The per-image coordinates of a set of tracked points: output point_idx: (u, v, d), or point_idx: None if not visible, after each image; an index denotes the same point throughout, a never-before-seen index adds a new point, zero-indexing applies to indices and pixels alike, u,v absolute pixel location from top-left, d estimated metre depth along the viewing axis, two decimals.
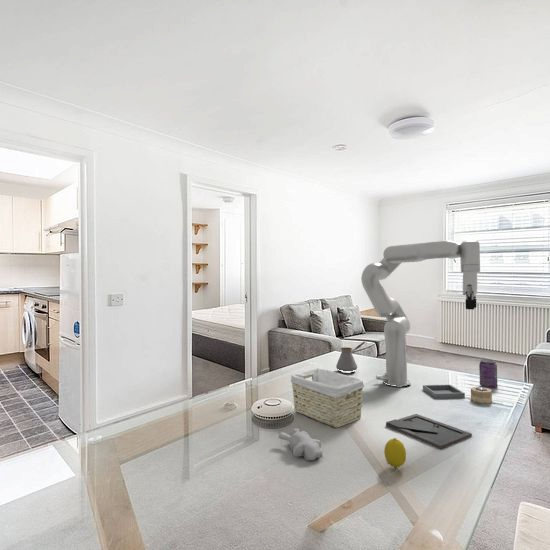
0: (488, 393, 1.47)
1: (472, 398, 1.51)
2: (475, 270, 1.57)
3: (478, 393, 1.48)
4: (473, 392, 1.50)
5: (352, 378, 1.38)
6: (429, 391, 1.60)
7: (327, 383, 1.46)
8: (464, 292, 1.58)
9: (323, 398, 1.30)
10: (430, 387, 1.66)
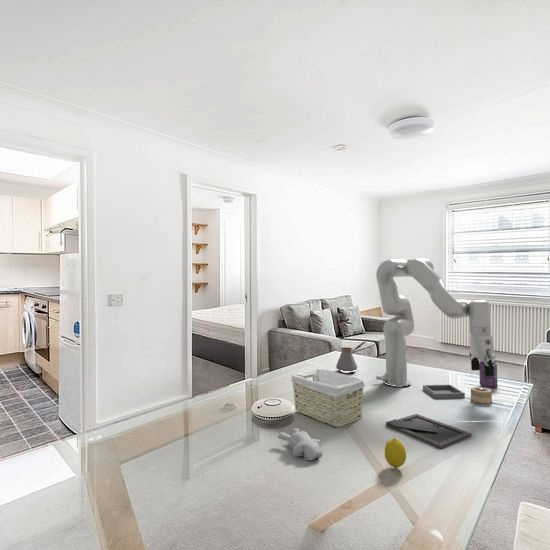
0: (488, 393, 1.47)
1: (472, 398, 1.51)
2: None
3: (478, 393, 1.48)
4: (473, 392, 1.50)
5: (353, 378, 1.38)
6: (429, 391, 1.60)
7: (328, 383, 1.46)
8: None
9: (323, 398, 1.30)
10: (430, 387, 1.66)
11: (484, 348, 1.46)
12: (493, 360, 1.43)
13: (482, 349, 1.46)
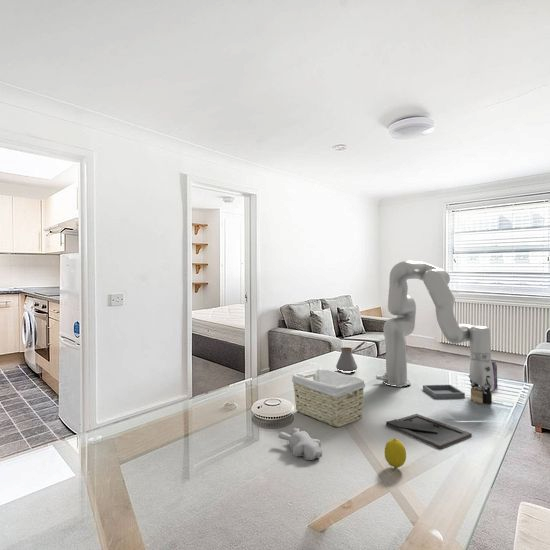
0: None
1: (472, 398, 1.51)
2: None
3: (478, 393, 1.48)
4: (473, 392, 1.50)
5: (353, 378, 1.38)
6: (429, 391, 1.60)
7: (328, 383, 1.46)
8: None
9: (324, 398, 1.30)
10: (430, 387, 1.66)
11: (484, 375, 1.46)
12: (491, 389, 1.44)
13: (482, 376, 1.46)
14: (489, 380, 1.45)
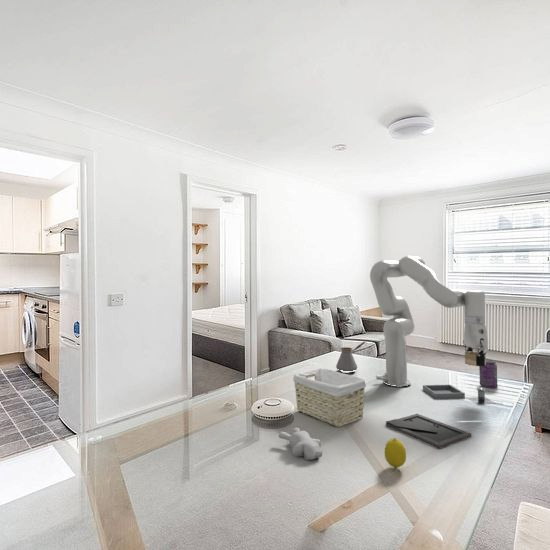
0: None
1: (466, 361, 1.52)
2: None
3: (472, 356, 1.50)
4: (467, 355, 1.52)
5: (354, 378, 1.38)
6: (429, 391, 1.60)
7: (329, 382, 1.46)
8: None
9: (325, 397, 1.31)
10: (430, 387, 1.66)
11: (478, 337, 1.47)
12: (485, 351, 1.45)
13: (476, 338, 1.48)
14: (483, 342, 1.46)
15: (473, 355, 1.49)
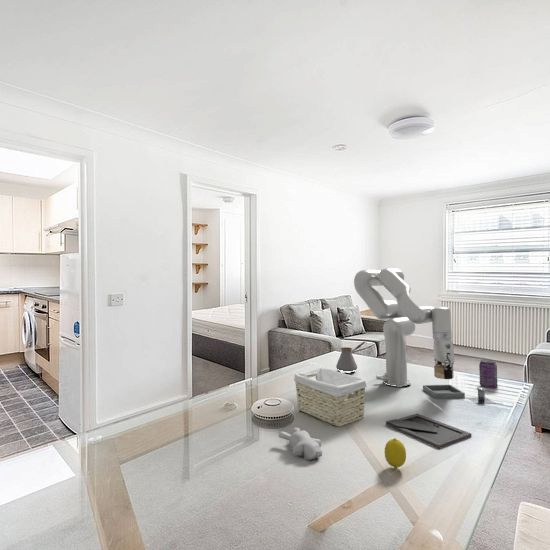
0: None
1: (435, 375, 1.60)
2: None
3: (440, 369, 1.58)
4: (436, 369, 1.60)
5: (355, 378, 1.38)
6: (429, 391, 1.60)
7: (330, 382, 1.47)
8: None
9: (325, 397, 1.31)
10: (430, 387, 1.66)
11: (444, 352, 1.56)
12: (451, 365, 1.53)
13: (443, 353, 1.56)
14: (449, 357, 1.54)
15: (441, 369, 1.58)
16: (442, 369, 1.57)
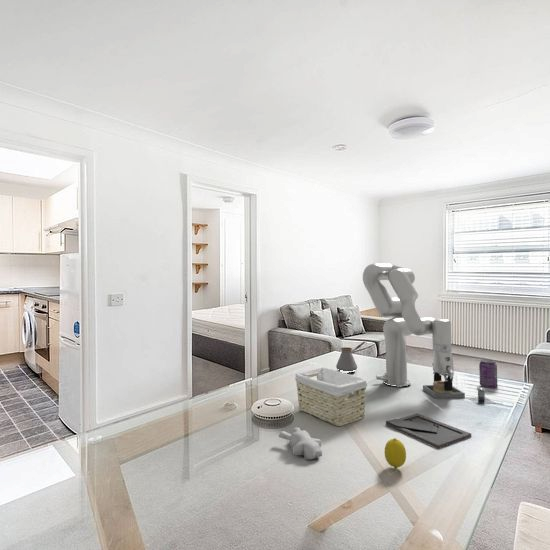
0: None
1: (434, 391, 1.61)
2: None
3: (439, 386, 1.58)
4: (435, 385, 1.60)
5: (356, 377, 1.39)
6: (429, 391, 1.60)
7: (331, 382, 1.47)
8: None
9: (325, 397, 1.31)
10: (430, 387, 1.66)
11: (444, 364, 1.56)
12: (451, 376, 1.53)
13: (442, 365, 1.56)
14: (449, 368, 1.54)
15: (440, 385, 1.58)
16: (441, 386, 1.58)
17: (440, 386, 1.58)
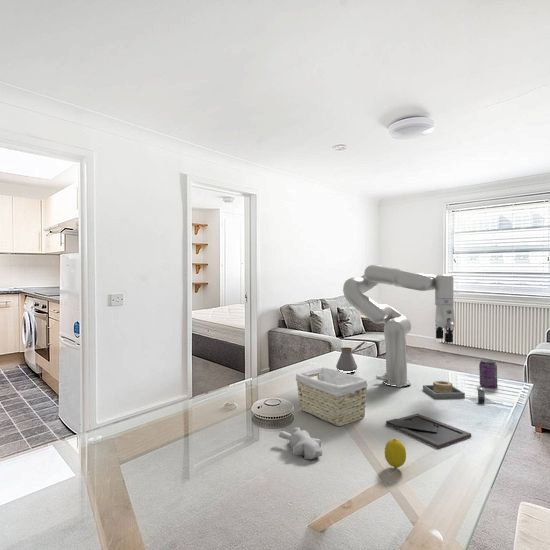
0: (448, 386, 1.57)
1: (434, 391, 1.61)
2: None
3: (439, 386, 1.58)
4: (435, 385, 1.60)
5: (356, 377, 1.39)
6: (429, 391, 1.60)
7: (332, 382, 1.47)
8: None
9: (326, 397, 1.31)
10: (430, 387, 1.66)
11: (445, 317, 1.61)
12: (452, 327, 1.57)
13: (443, 318, 1.61)
14: (450, 320, 1.59)
15: (440, 385, 1.58)
16: (441, 386, 1.58)
17: (440, 386, 1.58)
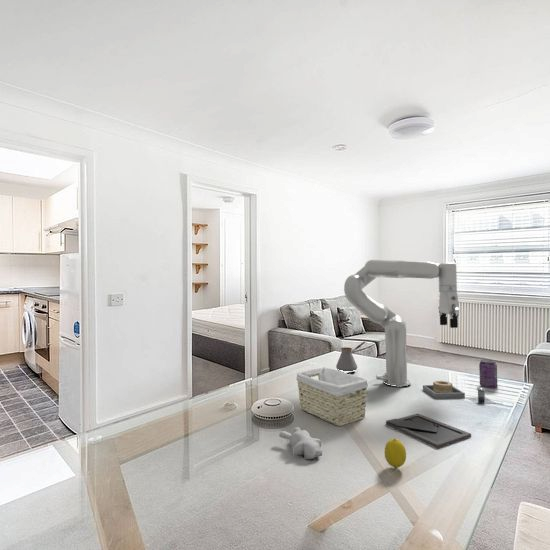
0: (448, 386, 1.57)
1: (434, 391, 1.61)
2: None
3: (439, 386, 1.58)
4: (435, 385, 1.60)
5: (357, 377, 1.39)
6: (429, 391, 1.60)
7: (333, 382, 1.47)
8: None
9: (326, 396, 1.32)
10: (430, 387, 1.66)
11: (450, 303, 1.66)
12: (457, 313, 1.63)
13: (448, 304, 1.67)
14: (454, 306, 1.65)
15: (440, 385, 1.58)
16: (441, 386, 1.58)
17: (440, 386, 1.58)
